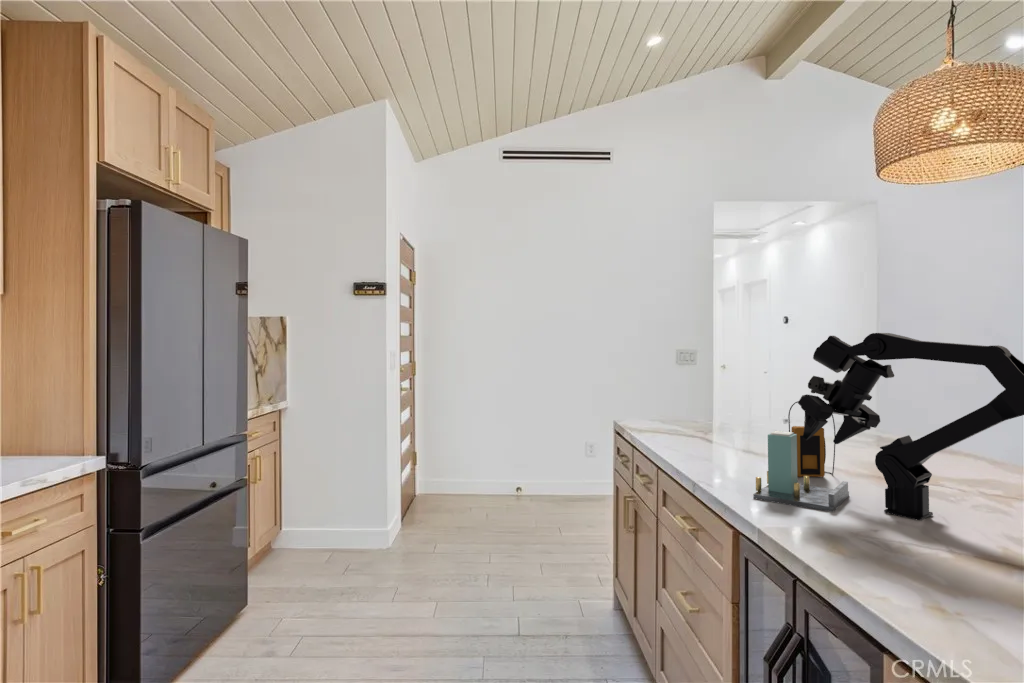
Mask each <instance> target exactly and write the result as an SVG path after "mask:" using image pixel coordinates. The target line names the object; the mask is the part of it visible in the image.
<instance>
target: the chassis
mask: <svg viewBox="0 0 1024 683" xmlns="http://www.w3.org/2000/svg"><path fill="white" fill-rule="evenodd" d="M766 484H767V485H765V486H764V487H762V477H761V476H756V477H755V491H756V492H755V493H753V499H754V498H757V499H756V500H759V499H762V500H761V501H765V500H767V502H771V501H773V503H777V502H779V504H783V503H785V505H789V504H791V505H790V506H795V505H796V506H797V507H800V506H802V508H806V507H807V508H808V509H813V510H817V511H825V512H830V513H833V512H835V511H836V510H837V508H839V506H841V505H842V504H843V503H844V502H845V501H846V500H847V498H849V497H850V491H849V481H845V480H842V481H841V482H840V483H839V484H838V485H837V486H836V487H834V488H828V487H821V486H813V485H810V477H809V476H803V484H801V483H800V482H797V483H794V493H792V494H788V493H782V492H775V491H769V490H768V470H767V471H766ZM796 506H795V507H796Z"/></svg>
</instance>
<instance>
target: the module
mask: <svg viewBox="0 0 1024 683" xmlns="http://www.w3.org/2000/svg"><path fill="white" fill-rule="evenodd" d="M767 471H768V484H767V485H768V490H769V491H775V492H782V493H788V494H792V493H794V483H798V477H797V434H794V432H792V431H790V432H789V431H784V430H783V431H781V430H774V431H772V432H770V433H769V434H767Z"/></svg>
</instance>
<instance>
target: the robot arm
mask: <svg viewBox="0 0 1024 683" xmlns="http://www.w3.org/2000/svg"><path fill="white" fill-rule="evenodd" d="M861 356H866V358H868V359H866V360H865V359H863V358H861ZM812 359H813V360H814V361H816V362H817V363H819V364H821V365H823V366H824V367H826V368H828V369H830V371H832V372H835V373H836V374H839V373H841V372H843V373H844V372H846V373H845V375H844V377H843V378H842V379H841V380H840V379H836V380H835V381H834V382H833V383H832V382H829V381H825V378H824V377H821V376H816V375H813V376H812V377H811V378H810V379H809V381H808V383H807V388H808V389H809V390H810V393H811V394H803V395H801V396H800V398H799V400H798V401H799V402H798V401H797V402H798V403H797V404H798V405H799V406H800V408H801V409H802V410H803V411H804V415H805V414H806V420H805V419H804V421H805V427H804V433H803V438H804V439H805V440H808V439H809V438H810V437H812V436H813V435H814V434H815V433H816V432H817V431H818V430H820V429H821V428H824V426H825V425H826V424H828V423H829V421H828V419H830V418H831V417H832V414H834V415H841V416H843V420H842V423H841V425H840V427H839V428H838V430H837V432H836V433H835V438H833V444H834V443H835V445H839V444H841V443H843V442H845V441H847V440H849V439H850V438H852V437H854V436H857V435H859V434H860V433H863V432H865V431H869V430H871V429H872V428H877V427H878V426H879V424H880V423H881V418H880V414H878V413H877V412H875V410H873V409H872V408H870V407H869V406H868V405H866V404H863V403H864V402H865V401H869V402H870V401H871V400H872V398H873V396H872V395H870V393H871V391H872V390H873V388H874V387H875V385H876V384H877V383H878V381H879V379H880V378H881V376H882V377H883V378H885V379H889V378H890V379H892V378H894V377H895V373H894V372H893V370H892V365H891V364H885V365H883V364H881V363H879V362H877V361H886V360H891V361H892V360H907V359H916V360H924V361H925V360H927V361H937V362H948V363H957V364H958V363H959V364H966V365H976V366H984V367H986V369H988V371H989V372H990V373H991V374H992V375H993V377H994V378H995V379H996V381H997V382H998V384H1000V385H1001V387H1003V388H1004V390H1002V391H1001V392H1000V393H998V394H997V395H996V396H995V397H994V398H993V399H992V400H991V401H989V402H988V403H986V404H985V405H983V406H981V407H980V408H977V409H976V410H975V409H974V410H973V411H971V412H969V413H968V414H966V415H963V416H961V417H960V418H957V419H955V420H954V421H951V422H950V423H947V424H945V425H944V426H941V427H940V428H938V429H935V430H934V431H932V432H929V433H928V434H926V435H924V436H922V437H920V438H917V439H915V440H913V439H912V438H911V436H910V435H909V434H908V435H905V436H901V437H898V438H896V439H895V440H893V441H892V442H891V443H889V444H885V445H882V446H879V449H880V451H878V452H877V453H876V454H875V459H874V464H875V466H876V468H877V470H878V471H879V472H880V473H881V474H882V475H883V478H884V481H885V484H886V485H887V487H885V489H884V498H885V499H884V504H885V505H884V506H885V509H884V510H883V511H884V512H883V513H885V514H890V515H894V514H895V516H898V515H899V517H902V518H903V517H904V518H908V519H912V520H916V519H917V521H922V520H924V519H926V517H927V518H929V517H931V516H933V515H934V513H933V512H932V511H930V491H929V489H930V487H929V486H930V485H926V484H928V483H930V481H931V478H932V475H933V474H932V472H931V471H930V470H928V468H926V467H925V465H923V464H924V463H926V462H927V461H928V460H929V459H931V458H932V457H933V456H934V455H935V454H937V453H939V452H942V451H943V450H946V449H948V448H950V447H952V446H954V445H957V444H958V443H961V442H963V441H964V440H967V439H969V438H971V437H973V436H975V435H977V434H979V433H981V432H984V431H986V430H988V429H990V428H992V427H994V426H997V425H998V424H1001V423H1003V422H1006V421H1007V420H1011V419H1015V418H1018V417H1021V416H1022V417H1023V416H1024V363H1023V362H1022V361H1021V360H1020V359H1018V358H1017V357H1016V356H1015V355H1014V354H1013V353H1012V352H1011V351H1010V350H1009V349H1008V348H1007V347H1005V346H1003V345H999V344H998V345H978V344H965V343H954V342H941V341H940V342H939V341H928V340H919V339H915V338H911V337H908V336H903V335H901V334H896V333H892V332H891V333H890V332H872V333H869V334H868V335H867V336H865V337H864V338H863V341H861V342H859V343H856V344H853V345H851V344H849V343H847V342H845V341H843V340H841V338H839V337H837V336H836V335H828V337H827V339H826V340H824V341H823V342H821V344H820V345H819V346H818V347H816V349H815V351H814V352H813V356H812ZM812 394H817V395H812ZM818 395H822V398H823V399H824V400H825V401H824V400H823V399H822V398H821V397H820V396H818ZM826 401H827V402H826Z"/></svg>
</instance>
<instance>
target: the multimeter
mask: <svg viewBox="0 0 1024 683" xmlns="http://www.w3.org/2000/svg"><path fill="white" fill-rule="evenodd" d="M798 402H799V400H798V401H795V402H794V403H793V404H791V406H790V408H789V410H788V432H794V434H797V478H801V477H804V476H809V478H810V477H814V478H815V477H818V478H823V477H825V475H826V474H830V475H834V471H835V470H834V469H835V457H836V444H835V443H834V442H833V461H832V463H833V464H832V472H829V471H825V467H826V466H825V464H826V456H827V450H826V449H827V448H826V446H827V445H826V438H825V428H824V427H822V428H821V429H820V430H818V431H817V432H816V433H815V434H814V435H813V436H812V437H810V438H809V439H808V440H805V439H804V438H803V433H804V427H805V420H806V414H805V413H804V422H803V426H802V425H799V426H798V425H793V426H791V421H790V417H791V416H790V414H791V410H792V408H793V406H794V405H795V404H798ZM831 417H832V421H833V430H834V432H833V434H834V438H835V436H836V425H835V419H834V415H833V414H832V415H831ZM834 438H833V439H834ZM825 473H826V474H825Z"/></svg>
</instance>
